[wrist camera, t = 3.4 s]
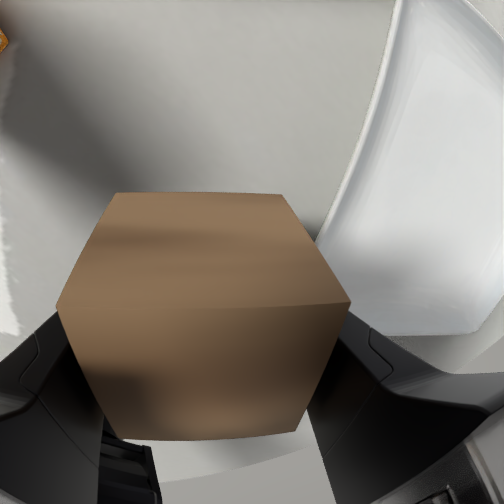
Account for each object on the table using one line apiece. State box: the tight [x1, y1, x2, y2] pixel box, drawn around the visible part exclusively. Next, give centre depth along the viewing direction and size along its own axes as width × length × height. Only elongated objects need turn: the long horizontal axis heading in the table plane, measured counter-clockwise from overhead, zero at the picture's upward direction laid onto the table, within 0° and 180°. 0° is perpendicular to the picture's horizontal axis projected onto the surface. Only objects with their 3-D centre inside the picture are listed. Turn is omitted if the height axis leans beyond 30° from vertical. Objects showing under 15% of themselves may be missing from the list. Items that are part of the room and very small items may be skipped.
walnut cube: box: [56, 192, 351, 441], centre depth 8 cm, size 5×5×5 cm
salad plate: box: [314, 0, 504, 336], centre depth 16 cm, size 21×21×3 cm
